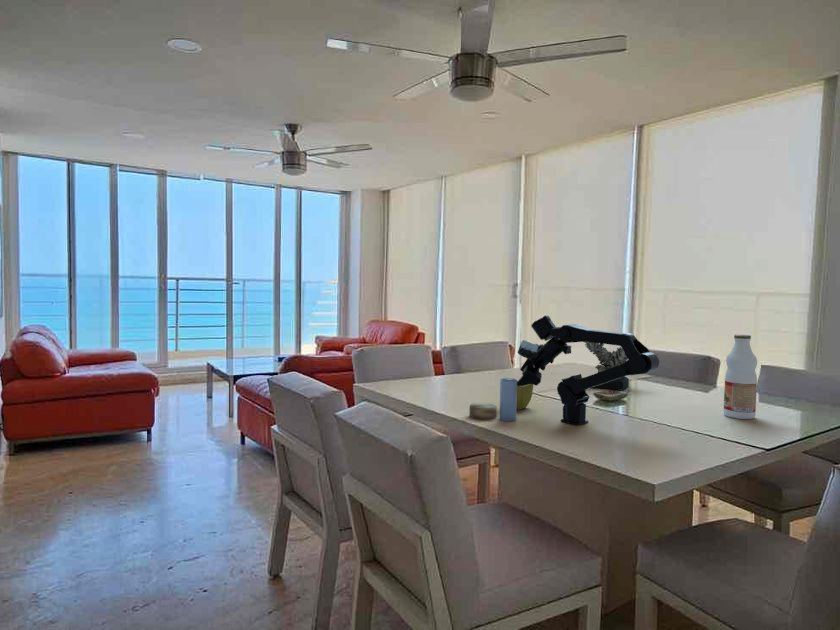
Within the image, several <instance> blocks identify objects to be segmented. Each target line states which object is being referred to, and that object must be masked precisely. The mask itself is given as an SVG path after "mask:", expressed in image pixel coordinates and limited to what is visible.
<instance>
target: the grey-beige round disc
mask: <svg viewBox="0 0 840 630" xmlns="http://www.w3.org/2000/svg"><path fill="white" fill-rule="evenodd" d="M497 410H498V409H497V404H494V403H493V404H492V403H488V402H476V403H475V402H474V403H471V404H469V417H470V418H472V419H475V420H483V421H484V420H493V419H494V420H495V419H496V418H497V415H498V414H497V413H498V412H497Z"/></svg>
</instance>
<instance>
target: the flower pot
mask: <svg viewBox="0 0 840 630" xmlns="http://www.w3.org/2000/svg"><path fill="white" fill-rule="evenodd" d="M517 382H518V380H517ZM534 386H535V385H534V384H527V385H522V386H517V408H516V410H522V409H525V408H527V407H528V405H529V403H531V402H530V401H531V399H532V396H533V390H534Z"/></svg>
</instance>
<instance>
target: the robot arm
mask: <svg viewBox="0 0 840 630" xmlns="http://www.w3.org/2000/svg"><path fill="white" fill-rule="evenodd" d="M531 329H532V330H533V331H534V332H535V334H536V335H537V337H538V338H539V339H540V340H541V341H543V340H544V341H546V342H545V343H544V344H543V343H542V344H541V343H540V344H538V343H532V342H529V341H528V340H522V341H521V342H520V345H519V346H518V350H517V354H518V355H519V356H521V357H523V358H525V359H526V360H525V361H524V363H523V364H522V366H521V367H520V369H519V370H520V371H521V372H522V373H521V374H522V375H521V376H520V378H519V379H517V381H518V382H517V386H522V385H527V384H534V385H533V386H538V385H540V384H541V382H542V375H543V374H542V372H540V370H541V371H545V369H546V366H548V365H549V364H553V363H554V360H555V359H556V358H557V357H558V356H559V355H561V354H562V353H563V354H565V355H569V354H572V345H569V344H571V343H585V342H594V343H599V344H600V343H602V344H604V345H610V346H619V347H621V348H623V350H624V352H625V354H626V356H627V358H628V360H626V362H624V363H623V364H621V365H619V366H616V367H613V368H610V369H607V370H604V371H602V372H599V373H598V372H595V373H594V374H590V375H588V376H587V375H586V376H585V377H582V373H577V374H574V375H571V376H570V377H566V378H562V379H561V382H559V383H558V384H557V386H556V388H557V389H556V391H557V394H558V396H559V398H560V401H561V404H563V406H562V418H561V419H560V422H563V423H565V424H566V423H567V424H570V425H575V426H577V425H578V426H579V425H582V424H587V423H589V420H586V419H587V418H586V417H587V416H586V415H587V412H586V411H587V409H586V408H587V404H586V403H588V402H589V400H590V395H589V394H588V393H587V391H588V390H590V389H591V388H596V387H595V386H598V385H601V384H603V383H606V382H609V381H612V380H615V379H618V378H621V377H624V376H625V377H628V376H634V375H635V376H636V375H643V374H647V373H651V372H655V371H656V370H657V369H658V368H659V366H660V359H659V356H658V355H656V354H655V353H653V352H651V351H650V350H649V349H648V347H647V346H646V345H645V344H643V343H642V342H641V341H639V340H638V339H637V337H636V336H635V335H634V334H633V333H630V332H626V333H625V332H616V331H615V332H614V331H608V330H607V331H604V330H598V329H597V330H596V329H590V328H587V327H585V326H583V325H579V324H572V323H571V324H563V325H562V326H558V327H557V326H556V325H555V323H554V322H553V320H552V319H551V317H550V316H549V315H544V316H543V317H541V318H538V319H537V320H535V321H533V323H531Z"/></svg>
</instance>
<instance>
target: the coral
mask: <svg viewBox="0 0 840 630" xmlns="http://www.w3.org/2000/svg"><path fill="white" fill-rule="evenodd" d="M584 343H585V344H584V346H585V347H586V348H587V350H588V351H589V352H590V353H592V355H595V357H596V359H597V361H599V362H598V364H597V365H596V366H595V367H594V369H596V370H597V373H599V372H602V371H604V370H607V369H610V368H613V367H616V366H619V365H621V364H623V363H624V362H626V361H627V360H629V359H628V358H627V356H626V354H625V352H624V350H623V348H622V347H621V346H619V347H617V348H616V350H612V352H611V351H609V350H608V349H607V348H606V347H604V346H605V344H602V343H594V342H584ZM629 383H630V378H628V376H624V377H621V378H618V379H615V380H612V381H609V382H606V383H603V384H601V385H598V386H595V387H594V388H599V389H607V390H616V391H617V390H619V391H623V390H624V389H625V390H626V388H628V387H629V385H630V384H629Z"/></svg>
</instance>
